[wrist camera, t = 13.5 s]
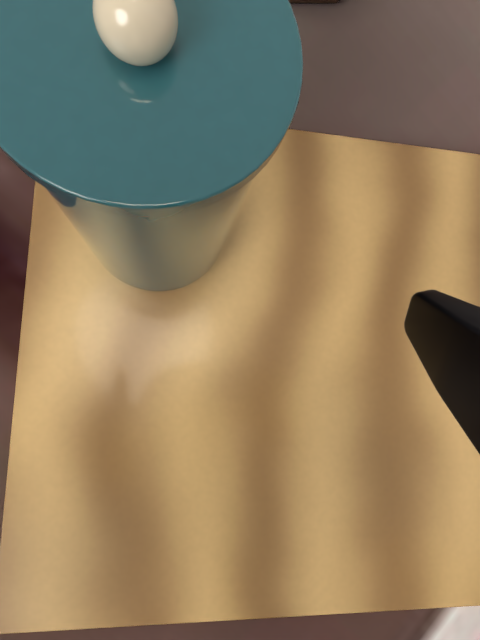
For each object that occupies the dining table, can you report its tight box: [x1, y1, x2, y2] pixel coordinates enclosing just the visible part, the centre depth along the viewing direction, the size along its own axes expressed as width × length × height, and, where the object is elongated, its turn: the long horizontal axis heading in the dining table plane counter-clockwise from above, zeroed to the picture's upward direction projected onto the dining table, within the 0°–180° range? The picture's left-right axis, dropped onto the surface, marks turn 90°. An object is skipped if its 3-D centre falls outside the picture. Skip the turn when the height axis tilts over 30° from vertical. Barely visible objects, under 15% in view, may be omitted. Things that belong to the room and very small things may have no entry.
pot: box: [0, 0, 303, 291], centre depth 13 cm, size 7×7×13 cm
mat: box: [0, 129, 480, 634], centre depth 20 cm, size 24×24×1 cm
